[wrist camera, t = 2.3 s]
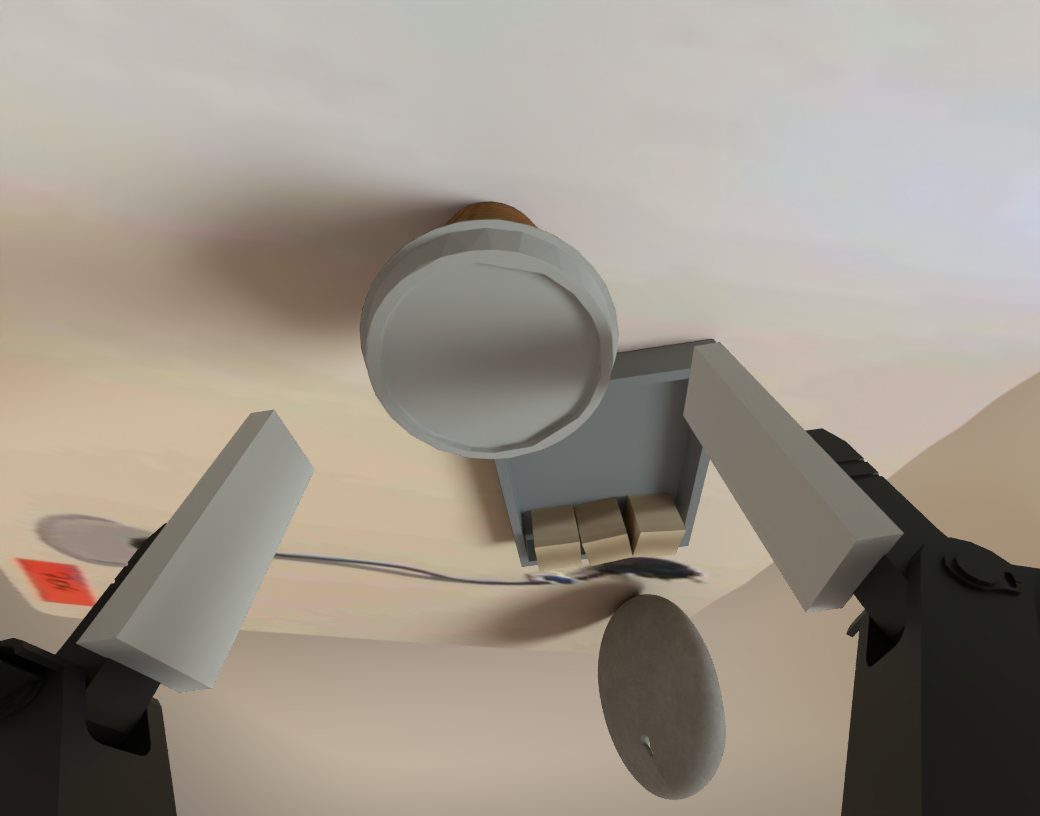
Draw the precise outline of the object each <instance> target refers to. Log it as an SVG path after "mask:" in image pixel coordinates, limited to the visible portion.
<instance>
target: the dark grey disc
mask: <svg viewBox="0 0 1040 816" xmlns="http://www.w3.org/2000/svg"><path fill="white" fill-rule="evenodd" d="M598 683H599V692H600V699H601V704H602V709H603V712H604V717H605V720H606V724H607V727H608V730H609V733H610V735H611V738H612V740H613V743H614V745H615V747H616V750H617V752H618V754H619V756H620V757H621V759H622V761H623V763H624V764H625V766H626V767H627V769H628V770H629V771H630V772H631V774H632V775H633V777H634V778H635V779H636V780H637V781H638V782H639V783H640V784H641V785H642V786H643V787H644V788H645V789H647V790H648V791H649V792H651V793H653V794H654V795H656V796H659V797H661V798H665V799H670V800H677V799H684V798H687V797H690V796H692V795H694V794H696V793H697V792H699V791H700V790H701V789H703V788H704V787H705V786H706V785H707V784H708V783H709V781H710V780H711V779H712V778H713V776H714V775H715V773H716V771H717V769H718V767H719V765H720V762H721V759H722V756H723V752H724V747H725V738H726V728H725V727H726V726H725V716H724V708H723V702H722V696H721V691H720V686H719V682H718V678H717V674H716V671H715V667H714V664H713V662H712V659H711V656H710V654H709V651H708V649H707V647H706V645H705V643H704V641H703V639H702V637H701V635H700V634H699V632H698V630H697V629H696V627H695V626H694V624H693V623H692V622H691V620H690V619H689V618H688V616H687V615H686V614H685V613H684V612H683V611H682V610H681V609H680V608H679V607H678V606H677V605H675V604H674V603H673V602H671V601H669V600H667V599H665V598H663V597H660V596H657V595H651V594H644V595H638V596H635V597H632V598H630V599H629V600H627V601H626V602H624V603H623V604H622V605H621V606H620V607H619V608H618V609H617V610H616V611H615V613H614V614H613V616H612V617H611V619H610V621H609V623H608V625H607V627H606V629H605V632H604V635H603V638H602V642H601V646H600V652H599V661H598ZM649 741H650V747H651V748H650V747H649V746H648V743H649ZM652 752H653V753H652Z"/></svg>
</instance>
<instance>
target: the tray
mask: <svg viewBox="0 0 1040 816" xmlns="http://www.w3.org/2000/svg"><path fill="white" fill-rule="evenodd" d="M711 343H716V341H715V340H714V339H710V340H703V341H697V342H690V343H683V344H676V345H669V346H663V347H656V348H649V349H642V350H636V351H629V352H622V353H617V354H616V358H615V362H614V365H613V368H612V371H611V376H610V381H609V386H608V388H607V390H606V392H605V393H604V395H603V397H602V399H601V401H600V403H599V405H598V406H597V408H596V409H595V410H594V412H593V413H592V414H591V416H590V417H589V418H588V419H587V420H586V421H585V422H584V423H583V424H582V425H581V426H580V427H579V428H578V429H577V430H575V431H574V432H572V433H571V434H570V435H568V436H567V437H565V438H564V439H563V440H561V441H559V442H557V443H555V444H553V445H551V446H549V447H547V448H545V449H543V450H539V451H535V452H531V453H527V454H524V455H520V456H516V457H512V458H501V459H494V461H495V465H496V469H497V472H498V476H499V480H500V484H501V488H502V492H503V496H504V500H505V503H506V507H507V511H508V515H509V519H510V523H511V527H512V530H513V534H514V538H515V542H516V546H517V550H518V554H519V558H520V561H521V565H522V567H525V566H533V565H538V562H537V557H536V552H535V546H534V536H533V526H532V516H531V510H534V509H542V508H549V507H557V506H564V505H572V504H573V509H574V514H575V519H576V524H577V529H578V534H579V539H580V549H581V559H588V558H587V555H586V553H585V550H584V548H583V545H582V541H581V536H580V532H579V527H578V522H577V517H576V512H575V507H574V506H578V505H583V504H587V503H591V502H595V501H599V500H604V499H608V498H612V497H616V499H617V503H618V506H619V509H620V512H621V516H622V517H623V513H624V509H625V506H626V502H627V498H628V495H646V494H666V493H670V495H671V497H672V499H673V501H674V504H675V506H676V508H677V510H678V513H679V515H680V517H681V519H682V522H683V524H684V526H685V528H686V532H685V534H684V536H683V538H682V541H681V543H680V545H679V547H682V546H688V544H689V540H690V536H691V532H692V528H693V524H694V520H695V516H696V512H697V508H698V504H699V500H700V496H701V492H702V488H703V484H704V480H705V476H706V472H707V468H708V464H709V460H710V458H709V456H708V455H707V453H706V451H705V450H704V448H703V447H702V445H701V443H700V442H699V440H698V439H697V437H696V435H695V434H694V432H693V430H692V429H691V427H690V426H689V424H688V422H687V421H686V419H685V418H684V416H683V413H684V407H685V401H686V395H687V389H688V382H689V376H690V370H691V364H692V358H693V352H694V346H698V345H704V344H711Z"/></svg>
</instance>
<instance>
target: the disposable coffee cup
mask: <svg viewBox="0 0 1040 816" xmlns="http://www.w3.org/2000/svg"><path fill="white" fill-rule="evenodd" d="M618 336H619V332H618V325H617V318H616V311H615V307H614V304H613V302H612V299H611V297H610V294H609V291H608V289H607V286H606V285H605V283H604V282H603V280H602V279H601V277H600V275H599V274H598V273H597V271H596V270H595V269H594V267H593V266H592V265H591V264H590V263H589V262H588V261H587V260H586V259H585V258H584V257H583V256H582V255H581V254H580V253H579V252H578V251H577V250H576V249H575V248H573V247H572V246H570V245H568V244H567V243H565V242H564V241H562V240H561V239H559V238H558V237H556V236H555V235H553V234H550V233H548V232H546V231H543V230H541V229H538V228H537V227H536V226H535V225H534V224H533V223H532V222H531V220H530V219H529V218H528V217H526V216H525V215H524V214H523V213H522V212H520V211H519V210H517V209H515V208H514V207H511V206H509V205H506V204H503V203H497V202H483V203H477V204H474V205H470V206H468V207H466V208H465V209H463V210H461V211H460V212H458V213H457V214H456V215H455V216H454V217H453V218H451V220H450V221H449V222H448V223H446V224H445V225H444V226H442V227H439V228H436V229H434V230H432V231H430V232H428V233H426V234H424V235H422V236H420V237H418V238H416V239H414V240H412V241H411V242H409V243H408V244H407V245H405V246H404V247H403V248H402V249H400V250H399V251H398V252H397V253H396V254H395V255H394V256H393V257H392V258H391V259H390V260H389V261H388V262H387V263H386V264H385V265H384V267H383V268H382V270H381V271H380V273H379V274H378V275H377V277H376V278H375V280H374V281H373V283H372V284H371V287H370V290H369V292H368V295H367V298H366V300H365V303H364V306H363V309H362V315H361V323H360V339H361V350H362V353H363V357H364V361H365V364H366V368H367V370H368V376H369V378H370V381H371V384H372V387H373V389H374V392H375V395H376V396H377V398H378V399H379V401H380V402H381V404H382V405H383V407H384V408H385V410H386V411H387V413H388V414H389V415H390V417H391V418H392V419H394V420H395V421H396V422H397V423H398V424H399V425H400V426H401V427H403V428H404V429H405V430H406V431H407V432H408V433H409V434H410V435H412V436H414V437H416V438H417V439H419V440H421V441H423V442H425V443H427V444H429V445H431V446H432V447H434V448H436V449H438V450H442V451H445V452H449V453H453V454H456V455H460V456H464V457H468V458H482V459H501V458H512V457H516V456H520V455H524V454H527V453H531V452H535V451H539V450H543V449H545V448H547V447H549V446H551V445H553V444H555V443H557V442H559V441H561V440H563V439H564V438H565V437H567V436H568V435H570V434H571V433H572V432H574V431H575V430H577V429H578V428H579V427H580V426H581V425H582V424H583V423H584V422H585V421H586V420H587V419H588V418H589V417H590V416H591V414H592V413H593V412H594V410H595V409H596V408H597V406H598V405H599V403H600V401H601V399H602V397H603V395H604V393H605V392H606V390H607V388H608V386H609V381H610V376H611V371H612V368H613V365H614V362H615V358H616V354H617V345H618Z"/></svg>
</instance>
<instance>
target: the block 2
mask: <svg viewBox="0 0 1040 816" xmlns="http://www.w3.org/2000/svg"><path fill="white" fill-rule="evenodd" d="M574 507H575V512H576V517H577V522H578V527H579V532H580V536H581V541H582V545H583V548H584V550H585V553H586V555H587V558H588V560H589V563H590V566H593V565H597V564H602V563H606V562H611V561H616V560H620V559H625V558H630V557H633V555H632V551H631V547H630V543H629V539H628V535H627V532H626V528H625V525H624V522H623V519H622V516H621V512H620V509H619V506H618V503H617V499H616V497H612V498H608V499H604V500H599V501H595V502H591V503H587V504H583V505H578V506H574Z"/></svg>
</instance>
